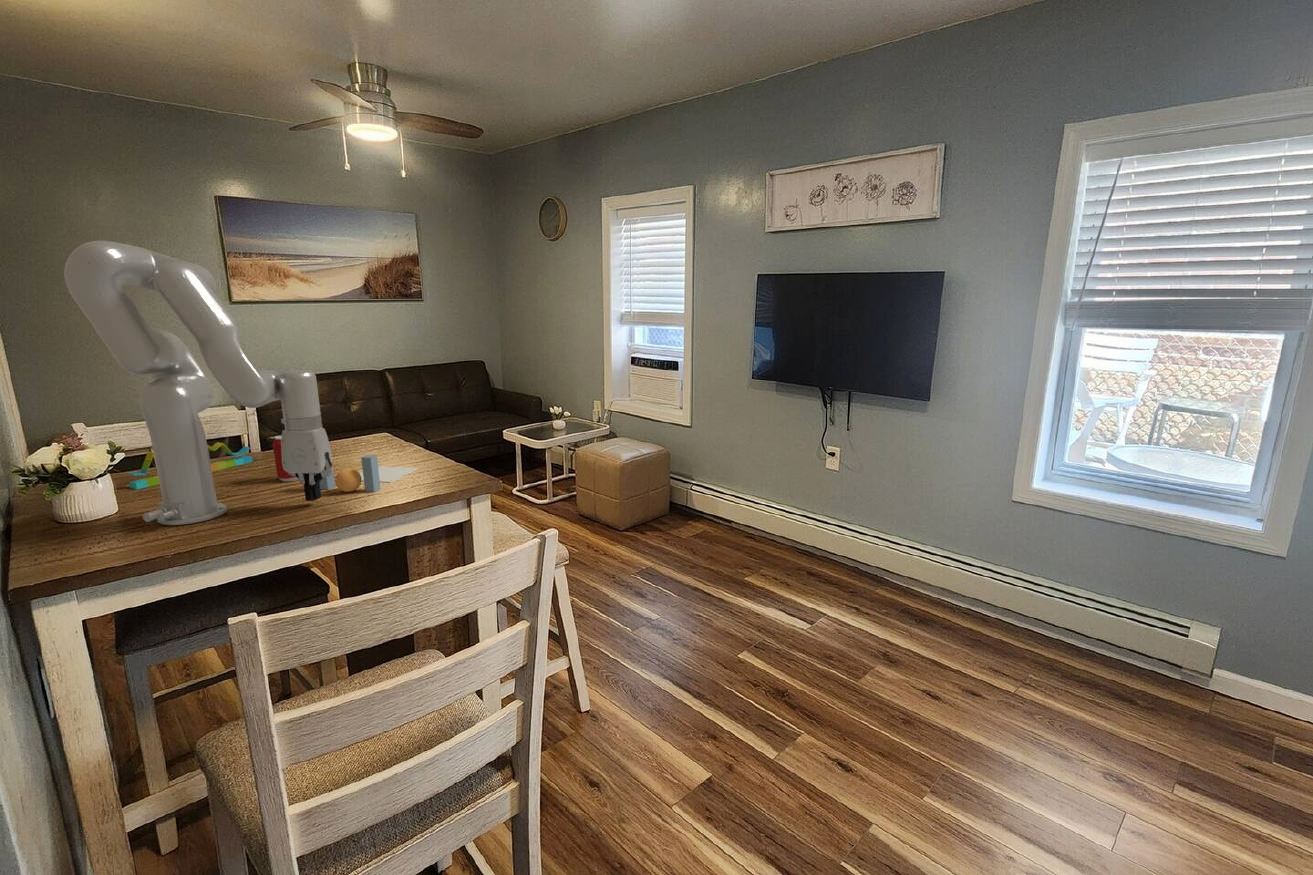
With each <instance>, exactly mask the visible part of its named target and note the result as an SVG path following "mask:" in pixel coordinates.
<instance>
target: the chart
mask: <svg viewBox="0 0 1313 875" xmlns="http://www.w3.org/2000/svg"><path fill="white" fill-rule="evenodd" d="M207 446H208V451H212V452H216V451H217V450H219V448H220V447H221V449H223V451H224V452H225V453H226V454H228V455H230V456H238V457H234V458H230V459H225V460H221V461H217V462H213V463H211V462H210V463H211V469H212V472H215V471H219V470H224V469H227V468H231V467H235V466H236V467H237V466H240V465H241V466H242V465H244V464H249V463H252V462H254V461H253V457H252V455H251V456H249V455H244V454H246V453H247V452H248V451H250V450H251V447H250V446H249V447H247V446H244V447H242V448H241V449H239V451H237V452H232V450H230V449H229V447H228V446H227V445H225V444H224V442H217V441H216V443H214V444H213V445H212V446H210V445H208V444H207ZM241 455H243V456H241ZM153 458H154V453H153V452H147V453H146V456H145V458H144V461H143V463H142V466H141V469H140V471H139V472H130V473H128V475H129V476H134V477H135V476H146V475H147V474H148V471H149V468H150V465H151V463H152V460H153ZM128 483H129V486H130V487H129V488H131V489H133V490H140V489H145V488H148V487H152V486H157V485H160V483H159V478H158V475H154V476H149V477H145V478H141V479H137V480H133V481H131V480H130V481H129V482H128Z"/></svg>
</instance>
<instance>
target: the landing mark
mask: <svg viewBox="0 0 1313 875" xmlns="http://www.w3.org/2000/svg"><path fill="white" fill-rule="evenodd" d="M418 469H419V467H404V466H403V467H402V466H400V467H399V466H381V465H380V466H379V465H378V471H379V480H380V483H392V482H394V481H397V480H398V479H401V478H403V477H405V476H406V475H409V474H410V473H412V472H413V473H414V472H415V471H417V470H418ZM359 474H360V475H361V479H362V481H361V482H364V478H363V470H362V471H360V472H359Z"/></svg>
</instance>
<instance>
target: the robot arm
mask: <svg viewBox="0 0 1313 875" xmlns="http://www.w3.org/2000/svg"><path fill="white" fill-rule="evenodd" d="M63 269H64V270H63V273H64V274H63V276H64V282H65V285H66V288H67V290H68V293H69V294H70V296H71V297H72V299H73V301H74V302H75V304H76V305H77V306H78V308H80V310H81V312H82V313H83V314H84V315H85V317H86V318H87V319H88V322H90V324H91V325H92V326H93V327H92V328H93V329H94V330H95V332H96V333H97V335H98V336H99V338H100V340H102V342H103V343H104V345H105V347H106V348H107V349H108V350H109V352H110V354H111V355H112V357H113V358H114V360H115V361H116V362H117V363H118V365H119V366H120V367H121V368H122V369H123V370H124V371H125V372H127V373H129V374H132V375H135V376H137V375H138V376H146V375H147V376H148V375H150V376H151V377H152V379H153V381H151V382H149V383H148V384H146V386H145V387H144V388H143V389H142V390H141V392H140V395H139V407H140V411H141V414H142V417H143V419H144V422H145V424H146V428H147V430H148V434H149V437H150V443H151V448H152V451H153V453H154V455H153V458H154V461H155V467H156V473H157V476H158V478H159V483H160V484H159V488H160V493H161V499H162V501H161V502H159V503H158V507H157V508H156V509H155V510H151V511H149V512H145V513H143V515H142V519H143V520H144V521H145V522H146V523H150V522H152V521H155V520H157V523H158V524H160V525H165V526H181V525H191V524H196V523H200V522H205V521H208V520H212V519H215V518H217V517H220V516H221V515H222V516H223V515H224V514H225V513H226V512H227V511H228V510H227V509H228V507H227V505H226V504H224V503H223V502H222V503H221V502H218V500H217V499H218V498H217V495H216V494H217V493H216V489H215V488H216V486H215V482H214V477H213V476H214V475H213V471H212V469H211V459H210V458H211V457H210V452H209V450H208V446H209V445H208V443H207V436H206V432H205V429H204V426H203V424H202V421H201V419H200V416H199V413H201V412H203V411H206V410H207V409H208V408H209V407H210V406H211V405H212V403H213V401H214V396H215V392H214V388H213V385H212V383H211V381H210V380H209V378H208V377H207V375H206V373H205V372H204V370H203V369H202V367H201V366H200V364H199V363H198V361H197V360H196V358H195V357H194V355H193V353H191V351H190V349H189V348H188V346H187V345H186V344H185V342H184V341H183V340H182V339H180V338H179V337H178V336H177V334H174V333H172V332H170V331H169V330H166V329H161V328H153V327H152V325H151V324H150V322H148V320H147V318H146V317H145V316H144V315H143V313H142V311H141V309H140V308H139V306H138V305H137V304H136V303H135V302H134V300H133V299H132V298H131V297H130V296H128V294H127V292H125V290H124V289H123V287H122V286H134V287H139V288H142V289H145V290H149V291H153V292H156V293H158V294H159V295H160V297H161V298H162V299H163V300H164V301H165V303H166V304H167V306H169V308H170V309H171V310H172V311H173V312H174V314H175V315H176V316H177V317H178V319H179V320H180V321H181V323H182V324H183V325H184V326H185V327H186V330H188V332H189V333H190V335H191V336H192V337H193V338H194V339H195V341H196V344H197V345H198V349H199V351H200V353H201V355H202V357H203V360H204V362H205V364H206V366H207V368H208V370H209V371H210V373H211V375H212V376H213V377H214V379H215V380H216V381H217V383H218V384H219V385H220V386H221V387H222V389H223V390H224V391H225V392H226V394H228V396H229V397H230V398H231V399H232V400H233V401H234V402H235V403H237V404H238V405H240V406H242V407H244V408H248V409H249V408H250V409H255V408H256V409H257V408H260V407H264V406H265V405H268V404H269V403H272V402H276V401H280V402H281V403H280V404H281V411H282V418H281V419H280V422H281V424H282V425H284V429H283V430H282V431H281V435H282V437H281V455H282V465H283V469H284V470H285V471H286V472H288V474H289V475H292V476H296V477H297V478H298V479H299V483H300V485H303V490H304V497H305V498H304V499H305V501H306V502H314V501H317V500H319V499H321V498H322V491H321V490H322V489H320V483H319V482H321V481H322V479H323V478H324V477H328V476H330V475H332V471H331V468H333V455H332V450H331V443H330V441H329V437H328V434H327V432H326V429H325V428H323V423H322V415H321V414H322V412H321V405H320V397H319V391H318V383H317V382H318V381H317V375H316V373H315V372H314V371H312V370H309V369H292V370H291V369H290V370H285V371H284V370H275V369H274V370H273V369H272V370H271V369H256V368H255V367H254V366H253V364H252V362H251V361H250V360H249V358H248V357H247V356H246V354H245V352H244V351H243V349H242V347H241V344H240V341H239V326H238V323H237V320H235V318H234V317H233V315H232V314H231V312H230V311H229V310H228V309H227V308H226V306H225V305H224V303H222V301H221V300H220V298H219V297H218V296H217V295H216V292H217V282H216V278H215V277H214V276H213V274H212V272H210V271H209V270H208V269H207V268H206V267H203V266H201V265H199V264H197V263H193V262H189V261H186V260H183V259H179V258H176V257H172V256H169V255H166V254H163V253H161V252H158V251H157V252H156V251H153V250H150V249H148V248H145V247H144V248H143V247H141V246H138V245H137V246H136V245H132V244H127V243H122V242H121V243H120V242H117V241H111V240H92V241H88V242H85V243H82V244H80V245H79V246H76V248H74V250H73V251H72V252H71V253H70V254H69V256H68V257H67V259H66V261H65V264H64V268H63ZM207 445H208V446H207ZM322 470H323V472H322Z"/></svg>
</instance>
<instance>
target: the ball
mask: <svg viewBox="0 0 1313 875" xmlns="http://www.w3.org/2000/svg"><path fill="white" fill-rule="evenodd" d="M359 473H360V472H358V470H356V469H354V468H350V467H349V468H343V469H342V470H340V471H339V472H338V473H337V474H336V476H335V478H334V483H335V485H336V486H335V487H337V489H338V490H340V491H342V492H345V493H351V492H354V491H356V490H358V489H359V488H360V487H361V484H362V482H363V481H362V479H361V475H360V474H359Z"/></svg>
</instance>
